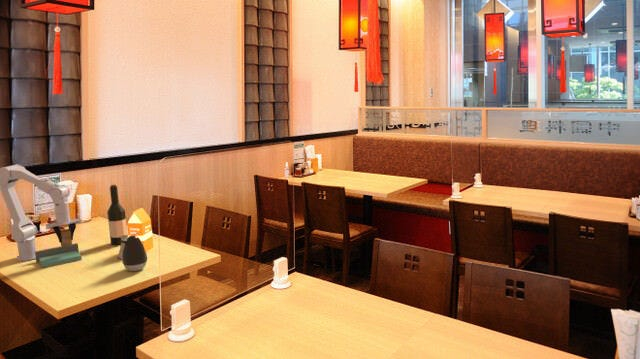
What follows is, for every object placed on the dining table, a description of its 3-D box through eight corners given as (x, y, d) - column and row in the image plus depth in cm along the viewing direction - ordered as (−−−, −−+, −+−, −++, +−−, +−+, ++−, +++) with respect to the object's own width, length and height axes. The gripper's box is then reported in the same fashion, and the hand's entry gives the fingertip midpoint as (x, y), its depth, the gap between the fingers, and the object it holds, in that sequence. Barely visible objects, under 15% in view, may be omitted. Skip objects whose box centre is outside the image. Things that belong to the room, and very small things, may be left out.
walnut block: (60, 245, 236) (59, 230, 235) (70, 243, 239) (68, 228, 237) (62, 247, 233) (60, 232, 232) (72, 245, 236) (70, 230, 234)
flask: (128, 259, 234) (126, 238, 232) (114, 259, 235) (112, 238, 233) (137, 254, 241) (135, 234, 239) (123, 254, 242) (121, 233, 240)
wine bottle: (131, 242, 261) (125, 184, 255) (117, 246, 254) (111, 187, 248) (121, 239, 265) (115, 182, 259) (107, 244, 258) (100, 186, 252)
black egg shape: (118, 270, 221) (114, 236, 218) (141, 263, 228) (137, 230, 225) (129, 275, 214) (126, 240, 211) (152, 268, 221) (149, 234, 219)
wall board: (36, 261, 235) (34, 251, 234) (78, 253, 246) (77, 243, 245) (40, 268, 226) (39, 257, 225) (84, 259, 237) (82, 248, 236)
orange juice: (129, 252, 244) (125, 212, 240) (139, 246, 252) (135, 207, 248) (145, 253, 242) (140, 212, 239) (153, 247, 251) (150, 207, 247)
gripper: (46, 216, 225) (50, 246, 228) (81, 211, 234) (85, 239, 237) (43, 213, 231) (47, 242, 234) (77, 208, 240) (81, 236, 242)
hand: (66, 241), depth 235 cm, fingers closed on walnut block, 4 cm apart
